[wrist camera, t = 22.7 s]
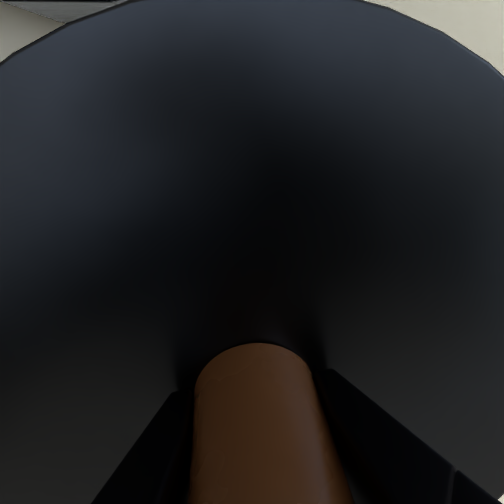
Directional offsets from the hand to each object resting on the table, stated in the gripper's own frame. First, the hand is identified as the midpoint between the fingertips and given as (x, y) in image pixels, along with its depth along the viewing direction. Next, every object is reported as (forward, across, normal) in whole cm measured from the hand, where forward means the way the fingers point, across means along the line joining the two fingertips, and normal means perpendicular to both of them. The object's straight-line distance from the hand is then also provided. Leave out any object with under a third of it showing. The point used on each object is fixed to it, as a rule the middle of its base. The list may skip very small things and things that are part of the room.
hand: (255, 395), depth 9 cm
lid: (+1, 0, 0) cm, 1 cm away
